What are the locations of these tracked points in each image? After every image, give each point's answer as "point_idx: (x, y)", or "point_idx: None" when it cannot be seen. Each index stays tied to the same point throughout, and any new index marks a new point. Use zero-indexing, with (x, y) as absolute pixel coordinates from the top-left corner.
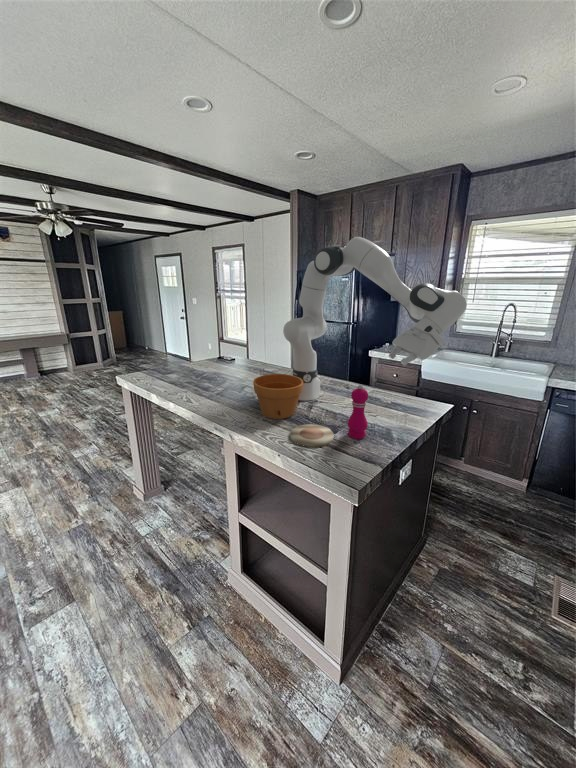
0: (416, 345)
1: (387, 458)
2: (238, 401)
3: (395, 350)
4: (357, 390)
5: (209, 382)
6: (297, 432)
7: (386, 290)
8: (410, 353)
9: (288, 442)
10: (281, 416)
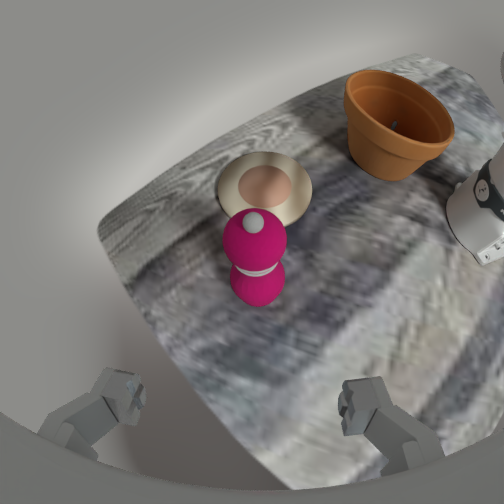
0: (14, 491)
1: (145, 311)
2: None
3: (399, 445)
4: (244, 215)
5: (468, 102)
6: (273, 162)
7: None
8: (66, 437)
9: (247, 151)
10: (349, 148)
